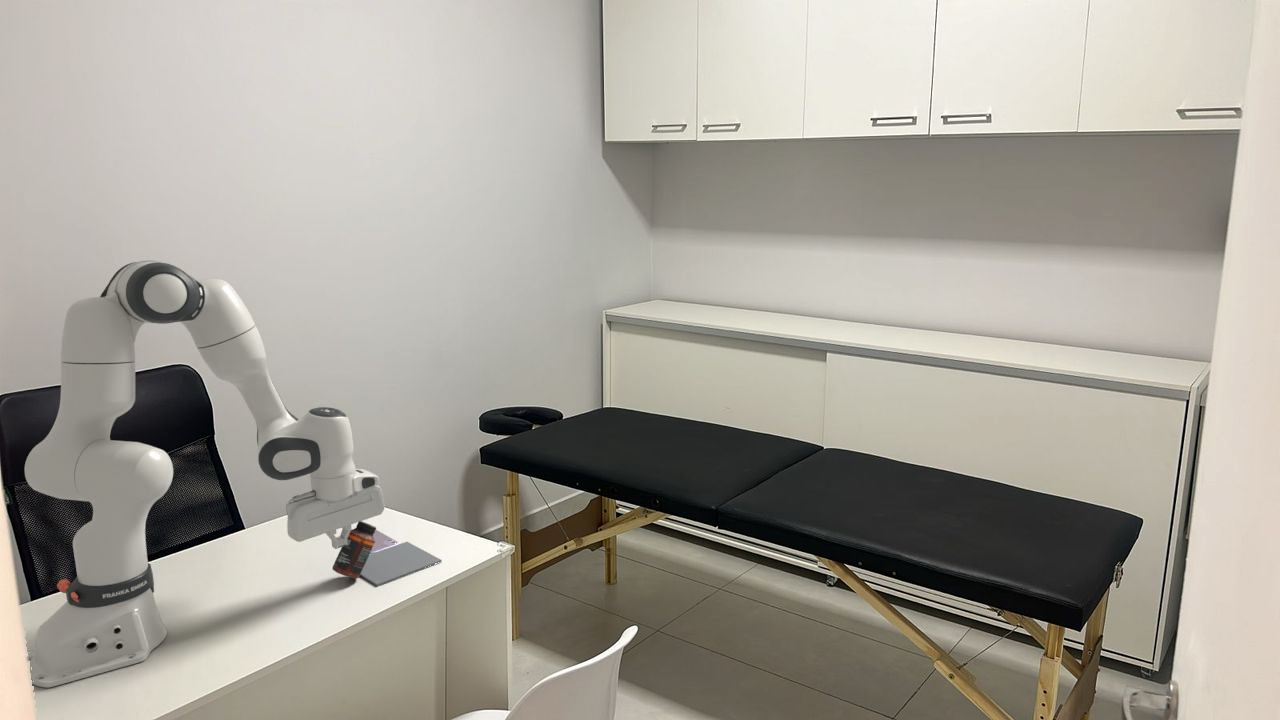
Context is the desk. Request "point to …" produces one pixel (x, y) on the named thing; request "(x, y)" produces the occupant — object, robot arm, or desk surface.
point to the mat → (396, 563)
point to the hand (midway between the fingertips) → (340, 546)
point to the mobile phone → (382, 542)
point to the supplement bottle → (355, 551)
